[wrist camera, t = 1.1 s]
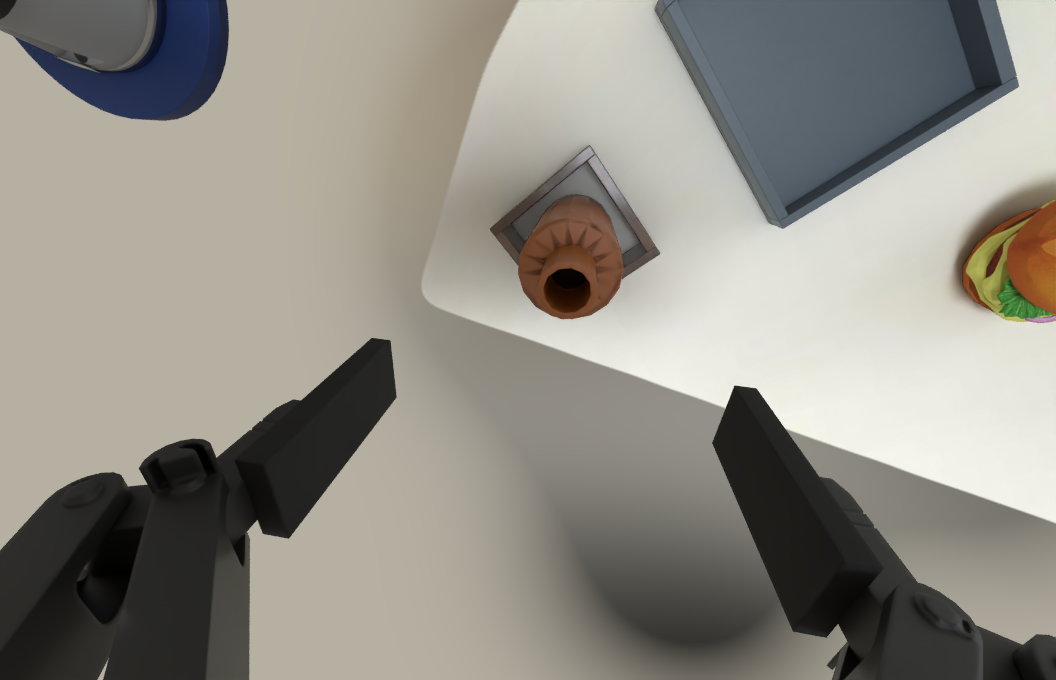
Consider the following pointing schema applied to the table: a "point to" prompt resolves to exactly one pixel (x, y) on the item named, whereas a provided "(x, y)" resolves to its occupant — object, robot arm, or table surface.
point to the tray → (835, 84)
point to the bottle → (571, 259)
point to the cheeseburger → (1017, 267)
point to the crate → (646, 247)
